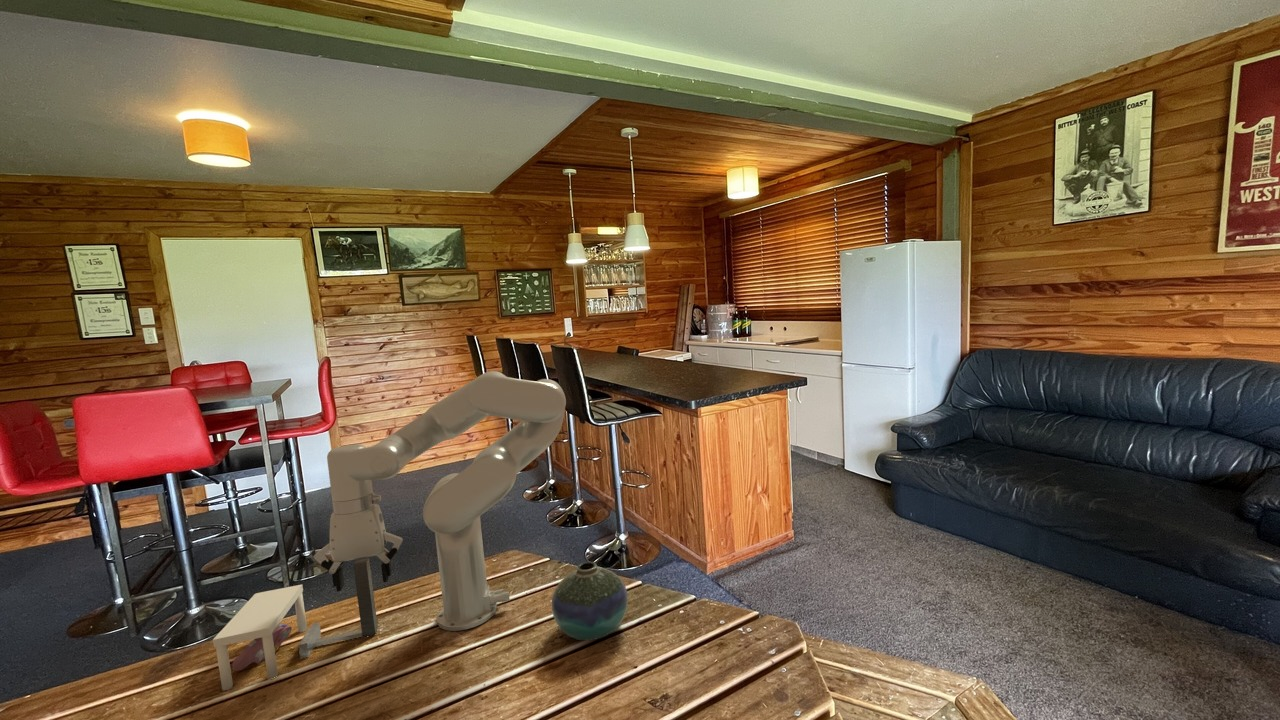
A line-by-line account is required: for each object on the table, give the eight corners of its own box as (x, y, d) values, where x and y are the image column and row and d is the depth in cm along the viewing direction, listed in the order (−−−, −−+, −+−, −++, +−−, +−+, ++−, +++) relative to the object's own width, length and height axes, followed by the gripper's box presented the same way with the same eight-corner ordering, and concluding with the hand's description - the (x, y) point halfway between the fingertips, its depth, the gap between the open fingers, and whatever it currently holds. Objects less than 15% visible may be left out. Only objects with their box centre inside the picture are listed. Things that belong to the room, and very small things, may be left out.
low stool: (308, 627, 116) (302, 584, 115) (276, 678, 98) (269, 627, 98) (261, 637, 113) (255, 593, 113) (220, 691, 96) (212, 639, 95)
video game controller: (246, 680, 101) (255, 651, 100) (228, 669, 102) (236, 640, 101) (290, 649, 111) (298, 621, 110) (272, 639, 111) (281, 611, 110)
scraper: (380, 622, 115) (371, 552, 114) (372, 642, 107) (363, 568, 106) (313, 637, 112) (303, 565, 110) (300, 659, 104) (289, 582, 103)
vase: (595, 663, 95) (588, 593, 94) (538, 637, 104) (532, 574, 103) (645, 620, 107) (639, 558, 106) (590, 601, 116) (585, 544, 115)
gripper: (401, 492, 115) (410, 567, 116) (313, 505, 110) (323, 584, 111) (395, 502, 108) (405, 583, 109) (300, 517, 103) (311, 601, 104)
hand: (363, 583), depth 110 cm, fingers open, 8 cm apart
